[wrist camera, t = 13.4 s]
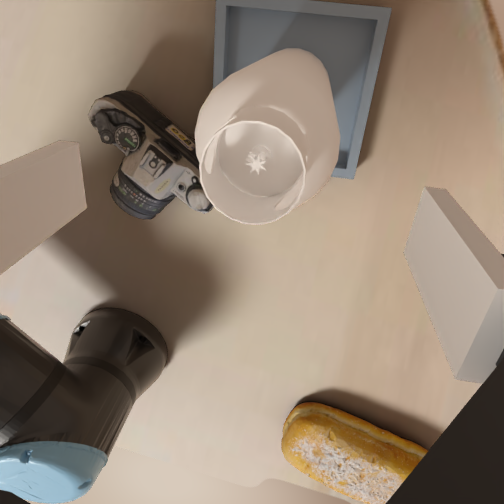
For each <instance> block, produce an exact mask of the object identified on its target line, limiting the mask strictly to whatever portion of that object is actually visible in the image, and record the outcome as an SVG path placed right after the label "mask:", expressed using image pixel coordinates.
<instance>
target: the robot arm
mask: <svg viewBox="0 0 504 504" xmlns="http://www.w3.org/2000/svg"><path fill="white" fill-rule="evenodd" d="M85 209H87V204H86V197H85V189H84V181H83V173H82V165H81V158H80V150H79V143H76V142H69V141H61V140H60V141H57V142H55V143H52V144H50V145H48V146H45V147H43V148H40V149H38V150H36V151H33V152H31V153H28V154H26V155H24V156H21V157H19V158H16V159H14V160H12V161H9V162H7V163H5V164H2V165H0V275H1V274H2V273H3V272H5V271H6V270H7V269H8V268H10V267H11V266H12V265H14V264H15V263H16V262H18V261H19V260H20V259H22V258H23V257H24V256H25V255H27V254H28V253H29V252H31V251H32V250H33V249H35V248H36V247H37V246H38V245H40V244H41V243H42V242H44V241H45V240H46V239H48V238H49V237H50V236H52V235H53V234H54V233H55V232H57V231H58V230H59V229H61V228H62V227H63V226H65V225H66V224H67V223H68V222H70V221H71V220H72V219H74V218H75V217H76V216H78V215H79V214H80V213H82V212H83V211H84V210H85ZM403 253H404V255H405V258H406V260H407V263H408V265H409V267H410V270H411V272H412V275H413V277H414V280H415V282H416V285H417V287H418V290H419V292H420V294H421V297H422V299H423V302H424V304H425V307H426V309H427V312H428V314H429V317H430V319H431V321H432V324H433V326H434V329H435V331H436V334H437V336H438V339H439V341H440V344H441V346H442V348H443V351H444V353H445V356H446V358H447V361H448V363H449V366H450V368H451V371H452V373H453V375H454V378H455V379H456V380H462V381H469V382H475V383H481V384H482V385H481V387H480V388H479V389H478V390H477V392H476V393H475V394H474V395H473V396H472V398H471V399H470V400H469V401H468V403H467V404H466V405H465V406H464V408H463V409H462V410H461V411H460V413H459V414H458V415H457V416H456V417H455V419H454V420H453V421H452V422H451V424H450V425H449V426H448V427H447V429H446V430H445V431H444V432H443V434H442V435H441V436H440V437H439V438H438V440H437V441H436V442H435V443H434V445H433V446H432V447H431V448H430V450H429V451H428V452H427V453H426V454H425V456H424V457H423V458H422V459H421V461H420V462H419V463H418V464H417V466H416V467H415V468H414V469H413V471H412V472H411V473H410V474H409V475H408V477H407V478H406V479H405V480H404V482H403V483H402V484H401V485H400V487H399V488H398V489H397V490H396V492H395V493H394V494H393V495H392V496H391V498H390V499H389V500H388V501H387V502H386V503H385V504H504V254H500V252H499V251H498V250H497V249H496V248H495V246H494V245H493V244H492V243H491V242H490V241H489V239H488V238H487V237H486V236H485V235H484V234H483V232H482V231H481V230H480V229H479V228H478V226H477V225H476V224H475V223H474V222H473V221H472V219H471V218H470V217H469V216H468V215H467V213H466V212H465V211H464V210H463V209H462V208H461V206H460V205H459V204H458V203H457V202H456V200H455V199H454V198H453V197H452V196H451V195H450V193H449V192H448V191H447V190H446V189H440V188H432V187H425V186H424V189H423V192H422V195H421V198H420V202H419V205H418V208H417V211H416V214H415V217H414V221H413V224H412V227H411V230H410V233H409V236H408V240H407V243H406V246H405V249H404V252H403ZM10 320H11V319H10V318H9V317H7V316H4V315H2V314H0V489H1V490H0V504H30V503H28V502H27V501H25V500H29V501H34V502H39V503H51V504H54V503H55V504H56V503H65V502H69V501H73V500H76V499H78V498H80V497H82V496H83V495H84V494H86V493H87V492H88V491H89V490H90V488H91V487H92V485H93V484H94V482H95V480H96V478H97V477H98V475H99V473H100V471H101V470H102V468H103V467H104V466H105V465H106V463H107V461H108V457H109V454H110V452H111V450H112V448H113V446H114V444H115V442H116V440H117V438H118V436H119V434H120V432H121V429H122V427H123V425H124V423H125V421H126V419H127V417H128V415H129V413H130V411H131V408H132V406H133V404H134V403H135V401H136V399H137V398H139V397H140V396H141V395H142V394H143V393H144V392H145V391H146V390H147V389H148V388H149V387H150V386H151V385H152V384H153V383H154V382H155V381H156V380H157V379H158V378H159V376H160V375H161V373H162V370H163V368H164V366H165V364H166V361H167V347H166V344H165V342H164V340H163V338H162V336H161V335H160V333H159V332H158V331H157V329H156V328H155V327H154V326H153V325H151V324H150V323H149V322H148V321H146V320H145V319H143V318H142V317H140V316H138V315H136V314H134V313H131V312H129V311H125V310H121V309H115V308H104V309H98V310H95V311H92V312H90V313H89V314H87V315H86V316H85V317H84V318H83V319H82V320H81V321H80V323H79V324H78V325H77V326H76V328H75V329H74V331H73V333H72V336H71V339H70V342H69V345H68V349H67V352H66V355H65V359H64V362H63V364H62V363H61V362H60V361H59V360H58V359H57V358H55V357H54V356H53V355H52V354H50V353H49V352H48V351H47V350H45V349H44V348H43V347H42V346H41V345H39V344H38V343H37V342H36V341H34V340H33V339H32V338H31V337H29V336H28V335H27V334H26V333H25V332H23V331H22V330H21V329H20V328H18V327H17V326H16V325H15V324H13V323H12V322H11V321H10ZM496 366H497V367H496ZM23 499H25V500H23Z"/></svg>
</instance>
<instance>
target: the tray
mask: <svg viewBox="0 0 504 504" xmlns="http://www.w3.org/2000/svg"><path fill="white" fill-rule="evenodd" d="M391 10H392V8H388V7H377V6H366V5H355V4H345V3H334V2H323V1H312V0H216V13H215V42H214V71H213V89H214V88H215V87H216V86H217V85H219V84H220V83H221V82H222V81H224V80H225V79H226V78H227V77H228V76H230V75H231V74H233V73H235V72H237V71H239V70H241V69H243V68H245V67H247V66H249V65H251V64H253V63H255V62H257V61H259V60H261V59H263V58H265V57H267V56H269V55H271V54H273V53H275V52H277V51H280V50H283V49H286V48H300V49H303V50H305V51H308V52H311V53H312V54H313V55H315V56H316V57H317V58H318V59H319V60H320V61H321V62H322V64H323V65H324V67H325V69H326V70H327V72H328V76H329V81H330V86H331V91H332V96H333V101H334V106H335V111H336V116H337V122H338V127H339V132H340V145H339V155H338V161H337V163H336V166H335V168H334V170H333V172H332V175H331V177H339V178H347V179H354V176H355V172H356V167H357V163H358V158H359V154H360V149H361V145H362V140H363V136H364V131H365V127H366V122H367V118H368V113H369V109H370V104H371V100H372V95H373V91H374V86H375V82H376V77H377V73H378V68H379V64H380V59H381V55H382V50H383V46H384V41H385V37H386V32H387V28H388V23H389V19H390V14H391Z"/></svg>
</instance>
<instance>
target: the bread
mask: <svg viewBox="0 0 504 504" xmlns="http://www.w3.org/2000/svg"><path fill="white" fill-rule="evenodd" d="M281 444H282V452H283V454H284V457H285V459H286V460H287V461H288V462H289V463H291V464H292V465H293V466H294V467H295V468H297V469H298V470H300V471H301V472H303V473H304V474H306V475H308V476H309V477H311V478H313V479H315V480H316V481H318V482H320V483H322V484H324V485H325V486H327V487H329V488H332V489H333V490H335V491H337V492H340V493H342V494H344V495H347V496H349V497H351V498H352V499H355V500H358V501H362V502H364V503H367V504H385V503H386V502H387V501H388V500H389V499H390V498H391V496H392V495H393V494H394V493H395V492H396V490H397V489H398V488H399V487H400V485H401V484H402V483H403V482H404V480H405V479H406V478H407V477H408V475H409V474H410V473H411V472H412V471H413V469H414V468H415V467H416V466H417V464H418V463H419V462H420V461H421V459H422V458H423V457H424V456H425V454H426V453H427V452H428V450H426V449H425V448H423V447H422V446H420V445H418V444H416V443H414V442H412V441H409V440H406V439H403V438H400V437H398V436H396V435H394V434H392V433H391V432H389V431H386V430H383V429H381V428H378V427H377V426H375V425H373V424H371V423H369V422H367V421H365V420H362V419H360V418H358V417H355V416H353V415H351V414H349V413H347V412H344V411H341V410H339V409H336V408H333V407H331V406H326V405H324V404H321V403H316V402H306V403H301V404H299V405H297V406H296V407H295V408H294V409H293V410H292V411H291V412H290V414H289V416H288V417H287V419H286V421H285V423H284V427H283V438H282V443H281Z"/></svg>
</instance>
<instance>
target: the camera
mask: <svg viewBox="0 0 504 504" xmlns="http://www.w3.org/2000/svg"><path fill="white" fill-rule="evenodd" d="M88 116H89V120H90V122H91V124H92V125H93V126H94V128H95V129H96V130H98V132H99V134H100V137H101V140H102V142H104V143H107V144H114V145H115V146H117V147H118V148H119V149H120V150H121V151H122V152H123V153H124V154H125V155H126V156H125V157H124V159H123V161H122V163H121V165H120V167H119V170H118V172H117V173H116V174H115V176H114V177H113V180H112V185H111V187H110V192H111V195H112V198H113V200H114V201H115V203H116V204H117V205H118V206H119V207H120V208H121V209H122V210H124V211H125V212H127V213H128V214H129V215H132V216H134V217H137V218H140V219H152V218H154V217H155V216H156V214H158V213H160V212H161V211H162V210H163V209H164V207H165V206H166V205H167V204H169V203H170V202H171V201H172V200H173V199H174V198H175V196H176V197H178V198H179V199H180V200H181V201H183V202H184V203H185V204H187V205H188V206H189V207H190V208H191V209H193V210H195V211H199V212H202V213H204V214H205V213H208V212H209V211H211V210H212V208H213V207H214V206H213V205H212V204H211V202H210V201H209V200H208V198H207V197H206V195H205V193H204V190H203V187H202V185H201V182H200V171H199V164H200V163H199V161H198V158H197V155H196V145H195V142H194V141H193V140H192V139H190V138H189V137H188V136H186V135H185V134H184V133H183V132H182V131H181V130H180V129H179V128H178V127H177V126H176V125H175V124H173V123H172V122H171V121H170V120H168V119H167V118H166V117H165V116H164V115H163V114H161V113H160V112H159V111H157V110H156V109H155V108H154V107H153V106H152V105H151V104H150V103H149V102H148V101H147V99H146V98H145V97H144V96H143V95H141V94H139V93H137V92H135V91H119V92H115V93H113V94H110V95H105V96H103V97H102V98H99V99H97V100H95V102H94V104H93V105H92V107H91V109H90V111H89V113H88Z"/></svg>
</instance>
